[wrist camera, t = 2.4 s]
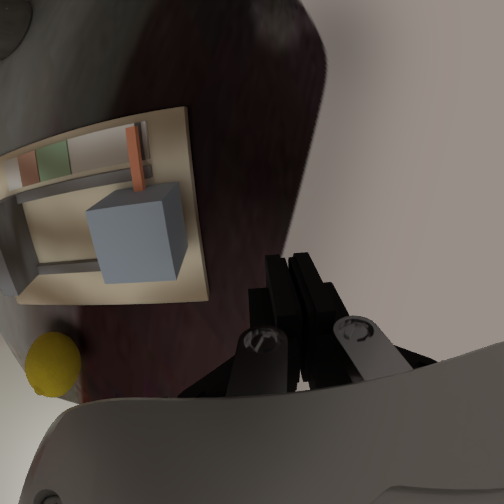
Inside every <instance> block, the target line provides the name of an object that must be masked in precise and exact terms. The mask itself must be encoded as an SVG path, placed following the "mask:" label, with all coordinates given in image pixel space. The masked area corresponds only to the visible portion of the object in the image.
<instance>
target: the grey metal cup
mask: <svg viewBox="0 0 504 504" xmlns="http://www.w3.org/2000/svg"><path fill="white" fill-rule="evenodd" d="M31 16H32V8H31V5H30V3H29V2H28V1H26V0H0V60H2V59H4V58H6V57H7V56H9V55H10V54H11V53H12V52H13V51H14V50H15V49H16V48H17V46H18V45H19V44H20V42H21V41H22V39H23V37H24V36H25V34H26V32H27V30H28V27H29V24H30V21H31Z"/></svg>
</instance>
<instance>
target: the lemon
mask: <svg viewBox="0 0 504 504" xmlns="http://www.w3.org/2000/svg"><path fill="white" fill-rule="evenodd" d="M80 368H81V357H80V353H79V350H78V348H77V346H76V344H75V343H74V342H73V341H72V339H70V337H69V336H66V335H65V334H63V333H60V332H48V333H45V334H42V335H41V336H39V337H38V338H37V339H36V340H35V341H34V343H33V344H32V345H31V347H30V349H29V351H28V354H27V357H26V362H25V372H26V376H27V379H28V381H29V383H30V385H31V386H32V387H33V388H34V390H35V393H37V394H38V395H43V396H46V397H59V396H62V395H64V394H65V393H66V392H67V391H68V390H70V388H71V387H72V386H73V385H74V383H75V382H76V380H77V378H78V375H79V372H80Z"/></svg>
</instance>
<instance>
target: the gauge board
mask: <svg viewBox="0 0 504 504" xmlns="http://www.w3.org/2000/svg"><path fill="white" fill-rule="evenodd" d="M133 126H138V132H139V141H140V149H141V157H142V164H143V172H144V179H145V185H146V186H147V185H155V184H163V183H171V182H179V187H180V194H181V202H182V209H183V216H184V223H185V229H186V236H187V242H188V248H187V251H186V254H185V257H184V260H183V263H182V265H181V268H180V271H179V274H178V277H177V280H174V281H157V282H138V283H118V284H105V282H104V279H103V276H102V273H101V270H100V266H99V263H98V260H97V256H96V253H95V249H94V245H93V242H92V238H91V234H90V230H89V226H88V222H87V218H86V213H85V211H86V210H88V209H89V208H90V207H92V206H93V205H95V204H96V203H97V202H99V201H100V200H102V199H103V198H105V197H106V196H107V195H109V194H110V193H112V192H113V191H115V190H120V189H127V188H133V182H132V176H131V169H130V162H129V155H128V147H127V139H126V130H125V128H128V127H133ZM0 288H1V290H2V293H3V295H4V296H15V298H16V300H17V302H18V304H34V305H111V304H149V303H174V302H194V301H208V300H209V286H208V279H207V273H206V266H205V259H204V252H203V245H202V238H201V231H200V223H199V216H198V208H197V199H196V191H195V182H194V174H193V164H192V155H191V145H190V134H189V123H188V111H187V107H177V108H170V109H164V110H158V111H152V112H147V113H142V114H137V115H132V116H127V117H123V118H118V119H114V120H110V121H105V122H101V123H98V124H94V125H90V126H86V127H83V128H79V129H76V130H72V131H69V132H66V133H63V134H59V135H56V136H53V137H50V138H47V139H44V140H41V141H39V142H36V143H33V144H30V145H28V146H25V147H22V148H20V149H17V150H15V151H12V152H10V153H8V154H5V155H3V156H0Z"/></svg>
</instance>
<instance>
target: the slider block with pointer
mask: <svg viewBox="0 0 504 504" xmlns="http://www.w3.org/2000/svg"><path fill="white" fill-rule="evenodd" d="M125 130H126V139H127V147H128V155H129V162H130V169H131V176H132V182H133V188H127V189H120V190H115V191H113V192H112V193H110V194H109V195H107V196H106V197H105V198H103V199H102V200H100V201H99V202H97V203H96V204H95V205H93V206H92V207H90V208H89V209H88V210H86V211H85V213H86V218H87V222H88V226H89V230H90V234H91V238H92V242H93V245H94V249H95V253H96V256H97V260H98V263H99V266H100V270H101V273H102V276H103V279H104V282H105V284H118V283H138V282H157V281H174V280H177V277H178V274H179V271H180V268H181V265H182V263H183V260H184V257H185V254H186V251H187V248H188V242H187V236H186V229H185V223H184V216H183V209H182V202H181V194H180V187H179V182H171V183H163V184H155V185H147V186H146V185H145V179H144V172H143V164H142V157H141V149H140V141H139V132H138V126H133V127H128V128H125Z"/></svg>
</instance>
